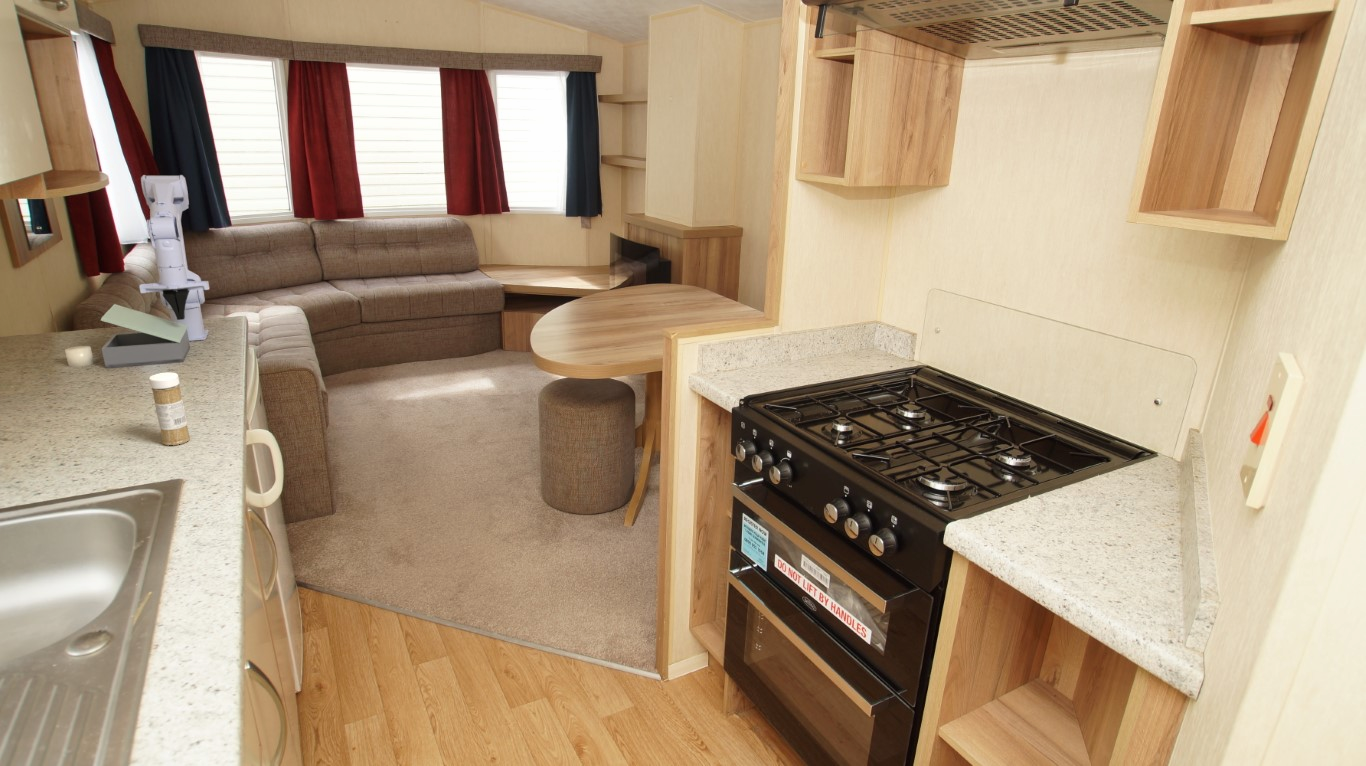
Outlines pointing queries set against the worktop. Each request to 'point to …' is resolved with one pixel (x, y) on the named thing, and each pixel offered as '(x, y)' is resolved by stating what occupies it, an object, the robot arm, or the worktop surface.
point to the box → (143, 350)
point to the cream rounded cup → (79, 356)
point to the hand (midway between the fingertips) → (181, 318)
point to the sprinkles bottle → (169, 408)
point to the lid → (145, 323)
